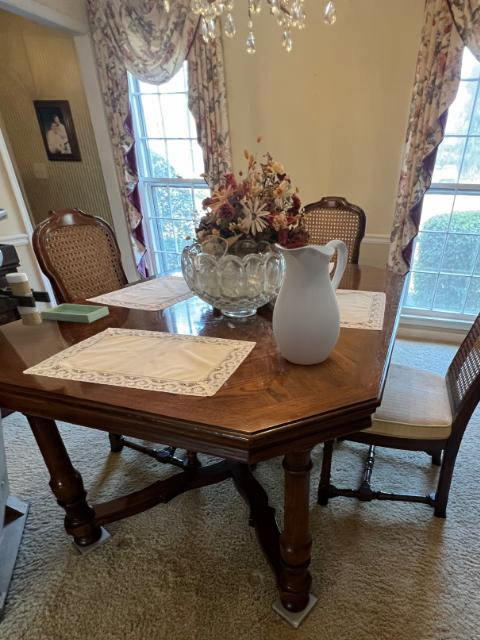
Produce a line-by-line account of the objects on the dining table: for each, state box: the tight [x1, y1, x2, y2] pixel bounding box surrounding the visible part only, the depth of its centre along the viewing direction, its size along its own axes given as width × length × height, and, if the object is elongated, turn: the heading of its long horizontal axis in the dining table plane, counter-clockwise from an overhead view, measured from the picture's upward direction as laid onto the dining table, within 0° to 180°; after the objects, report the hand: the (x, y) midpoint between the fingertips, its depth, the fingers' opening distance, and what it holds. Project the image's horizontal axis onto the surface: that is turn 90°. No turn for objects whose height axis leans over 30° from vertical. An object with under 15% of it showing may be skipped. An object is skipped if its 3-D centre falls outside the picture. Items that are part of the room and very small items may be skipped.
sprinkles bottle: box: [5, 272, 43, 327], centre depth 102 cm, size 5×5×13 cm
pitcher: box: [272, 239, 349, 366], centre depth 94 cm, size 24×17×28 cm
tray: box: [40, 303, 110, 324], centre depth 127 cm, size 18×10×2 cm, turn 78°
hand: (40, 299), depth 101 cm, fingers closed on sprinkles bottle, 4 cm apart
